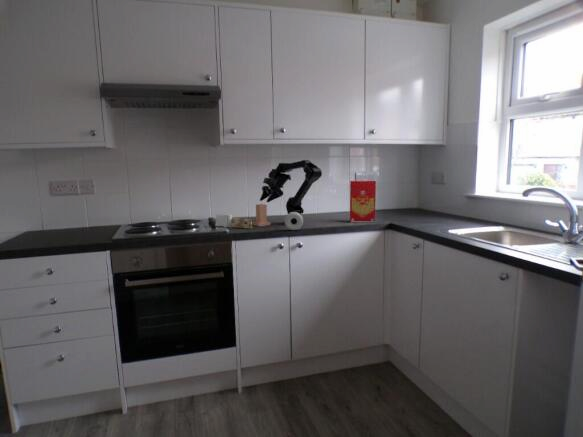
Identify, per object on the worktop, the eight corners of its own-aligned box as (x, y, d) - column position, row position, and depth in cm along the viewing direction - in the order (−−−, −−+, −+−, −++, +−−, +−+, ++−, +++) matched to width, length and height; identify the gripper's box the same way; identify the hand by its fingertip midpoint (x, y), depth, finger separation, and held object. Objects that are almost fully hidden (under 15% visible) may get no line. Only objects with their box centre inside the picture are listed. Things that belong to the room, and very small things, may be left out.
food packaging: (350, 222, 226) (350, 181, 222) (349, 221, 231) (350, 180, 227) (374, 222, 225) (375, 181, 221) (373, 221, 230) (374, 180, 226)
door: (231, 227, 209) (230, 218, 209) (233, 226, 211) (233, 218, 211) (250, 228, 204) (250, 219, 204) (252, 228, 206) (252, 219, 206)
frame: (216, 226, 213) (215, 214, 212) (218, 226, 215) (218, 214, 214) (231, 227, 210) (230, 215, 209) (233, 226, 212) (232, 214, 211)
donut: (303, 229, 202) (303, 211, 200) (303, 230, 198) (303, 212, 197) (284, 229, 201) (284, 211, 200) (284, 230, 198) (284, 212, 197)
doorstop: (263, 223, 224) (263, 203, 223) (270, 224, 218) (270, 204, 217) (252, 224, 220) (252, 204, 218) (259, 226, 214) (259, 205, 212)
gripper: (264, 172, 229) (248, 191, 225) (278, 173, 213) (261, 193, 209) (275, 185, 234) (260, 203, 230) (290, 186, 218) (274, 206, 214)
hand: (263, 201), depth 221 cm, fingers open, 9 cm apart
